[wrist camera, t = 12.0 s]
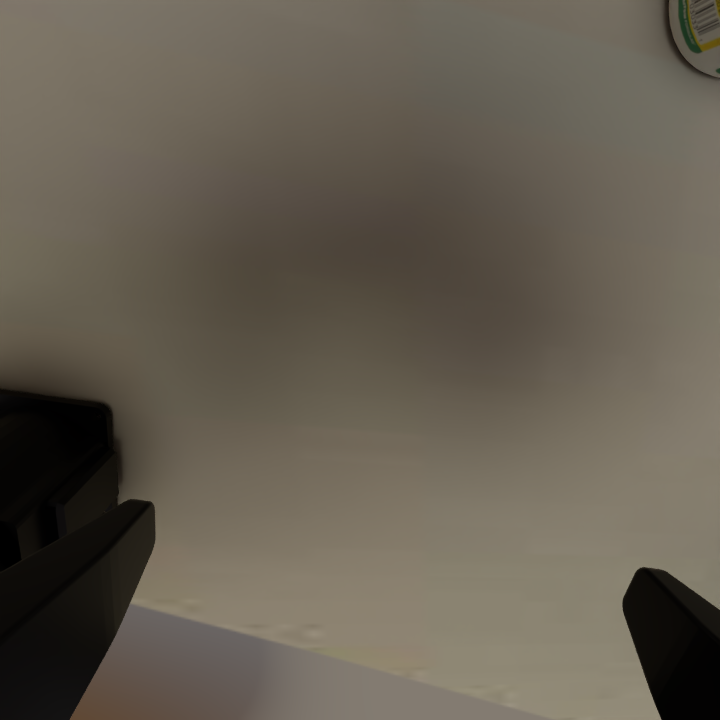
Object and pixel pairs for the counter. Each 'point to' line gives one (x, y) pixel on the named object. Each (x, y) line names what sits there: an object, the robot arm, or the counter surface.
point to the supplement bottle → (697, 32)
